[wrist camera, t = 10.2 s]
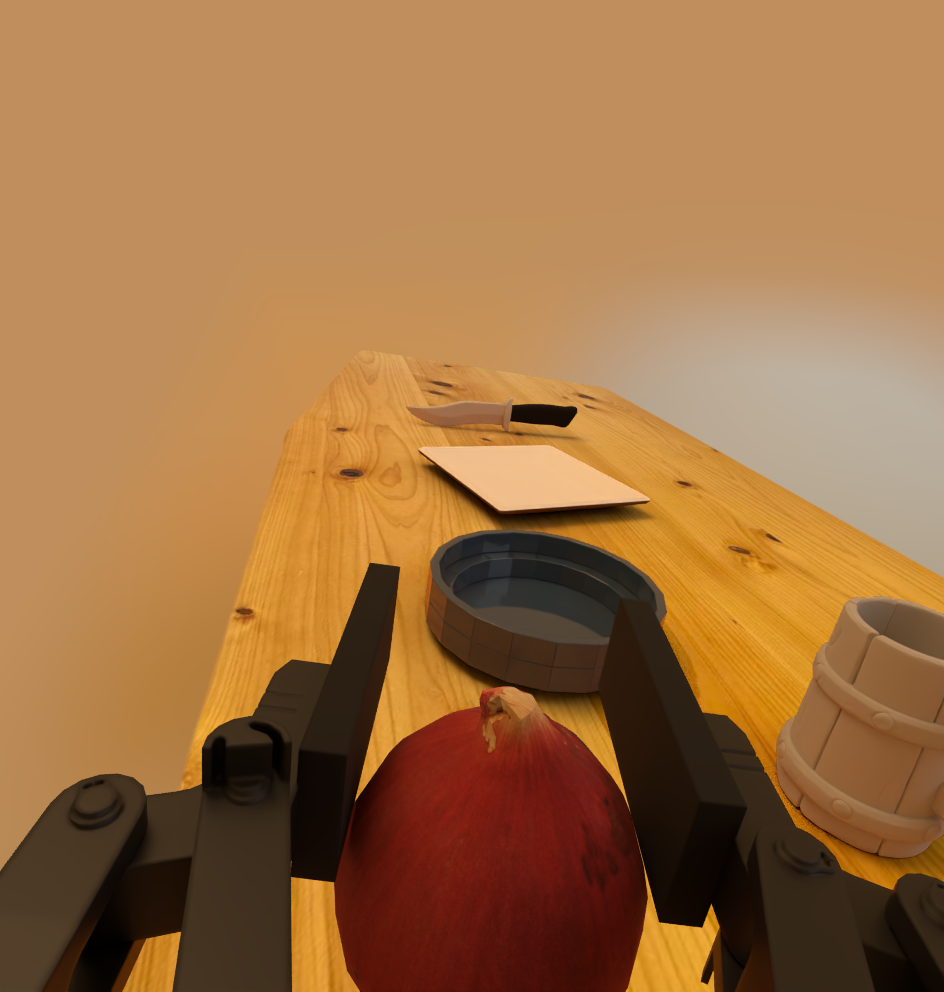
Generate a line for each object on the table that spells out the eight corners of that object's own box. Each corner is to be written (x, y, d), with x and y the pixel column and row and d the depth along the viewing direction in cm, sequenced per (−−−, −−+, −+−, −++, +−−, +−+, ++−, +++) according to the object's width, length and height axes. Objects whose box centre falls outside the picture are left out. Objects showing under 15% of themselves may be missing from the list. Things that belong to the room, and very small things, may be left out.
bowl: (394, 667, 37) (401, 607, 36) (452, 560, 51) (458, 514, 50) (659, 731, 35) (677, 669, 34) (644, 602, 49) (656, 555, 48)
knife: (404, 424, 90) (408, 388, 88) (403, 421, 91) (407, 386, 90) (573, 439, 95) (580, 406, 94) (569, 436, 97) (575, 403, 95)
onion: (525, 856, 17) (585, 596, 15) (656, 1109, 12) (784, 789, 10) (304, 912, 15) (326, 616, 12) (358, 1249, 10) (416, 882, 7)
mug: (835, 733, 37) (912, 545, 33) (1076, 924, 27) (1229, 688, 23) (736, 756, 34) (807, 552, 30) (966, 981, 24) (1120, 720, 20)
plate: (497, 529, 59) (500, 508, 58) (415, 463, 74) (417, 446, 73) (648, 516, 68) (652, 498, 67) (547, 459, 83) (550, 444, 82)
